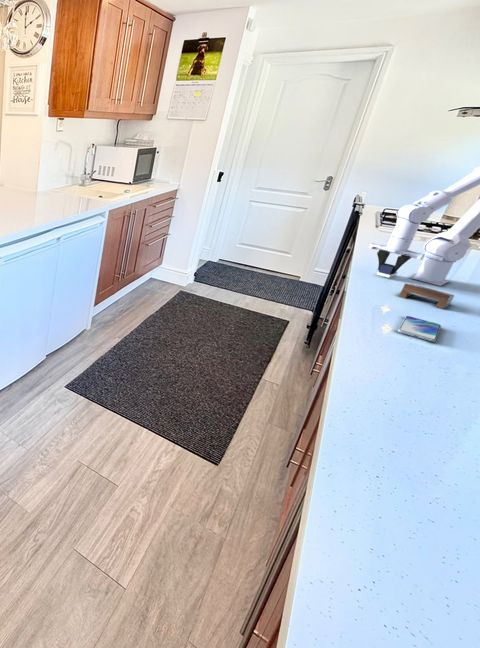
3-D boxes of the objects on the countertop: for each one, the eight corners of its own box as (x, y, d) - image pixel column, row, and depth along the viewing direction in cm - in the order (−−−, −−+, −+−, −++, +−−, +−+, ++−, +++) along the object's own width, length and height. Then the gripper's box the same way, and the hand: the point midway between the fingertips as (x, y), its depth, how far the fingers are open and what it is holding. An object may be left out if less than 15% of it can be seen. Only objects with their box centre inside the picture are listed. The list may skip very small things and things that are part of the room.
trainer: (388, 277, 151) (393, 267, 149) (376, 274, 154) (380, 264, 152) (397, 274, 155) (401, 264, 153) (384, 270, 158) (389, 261, 156)
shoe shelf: (406, 292, 139) (412, 280, 138) (449, 304, 131) (456, 291, 129) (398, 296, 136) (404, 283, 134) (442, 308, 128) (450, 295, 126)
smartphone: (398, 329, 112) (406, 315, 120) (396, 332, 112) (405, 317, 121) (436, 340, 106) (441, 324, 115) (434, 343, 107) (440, 327, 115)
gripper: (372, 233, 152) (357, 266, 157) (425, 244, 140) (408, 280, 145) (379, 231, 155) (365, 264, 160) (432, 242, 143) (415, 276, 149)
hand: (386, 271), depth 153 cm, fingers closed on trainer, 3 cm apart
